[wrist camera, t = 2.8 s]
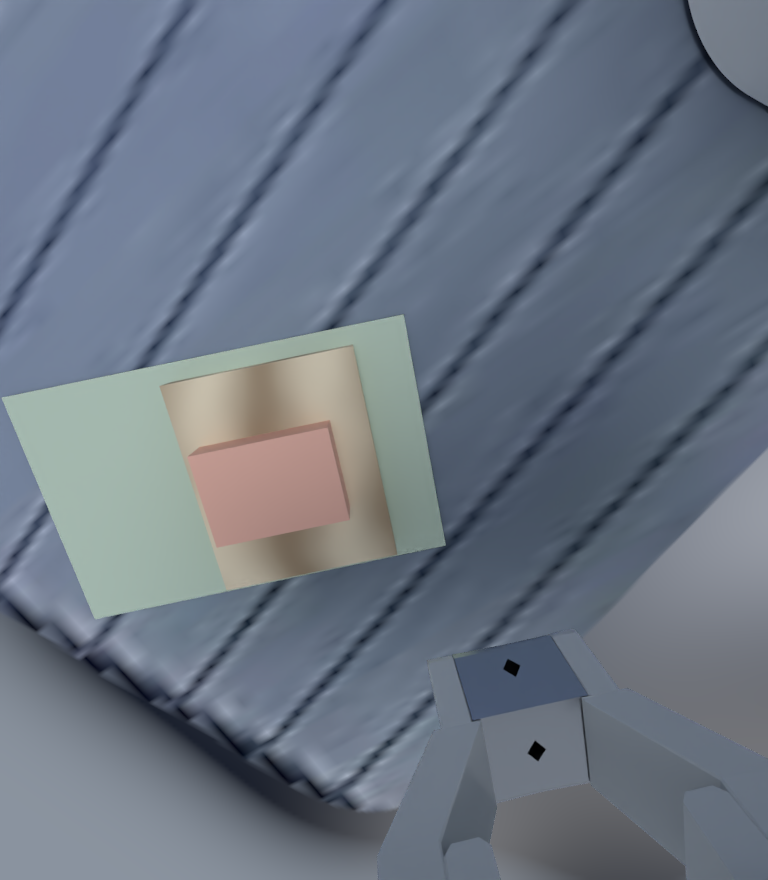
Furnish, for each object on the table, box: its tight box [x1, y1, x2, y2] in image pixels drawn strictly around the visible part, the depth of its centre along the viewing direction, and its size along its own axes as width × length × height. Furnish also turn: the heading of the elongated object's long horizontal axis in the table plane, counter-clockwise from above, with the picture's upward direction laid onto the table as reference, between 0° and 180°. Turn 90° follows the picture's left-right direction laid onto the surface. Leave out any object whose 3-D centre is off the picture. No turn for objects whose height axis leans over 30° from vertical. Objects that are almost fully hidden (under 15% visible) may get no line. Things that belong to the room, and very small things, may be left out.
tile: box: [187, 420, 350, 548], centre depth 24 cm, size 7×5×2 cm
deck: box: [159, 344, 397, 590], centre depth 26 cm, size 10×12×2 cm
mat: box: [2, 314, 446, 619], centre depth 27 cm, size 22×14×1 cm, turn 101°
